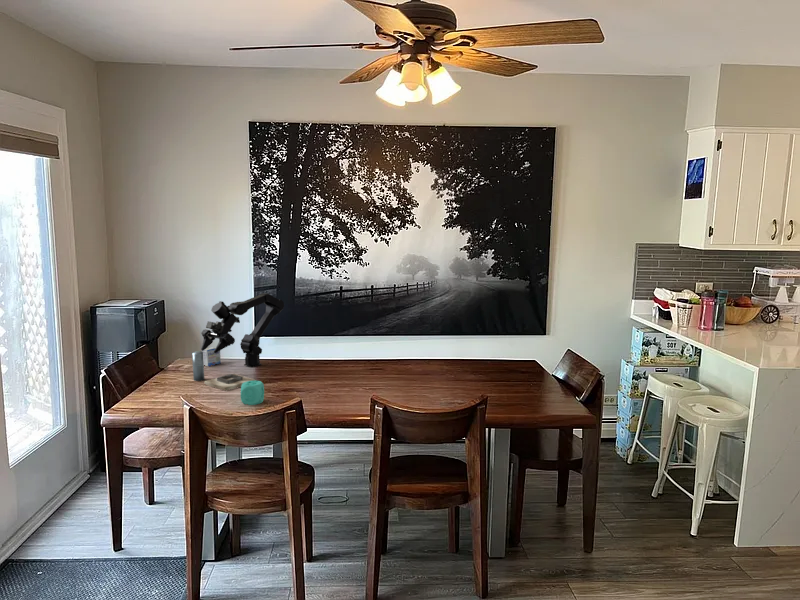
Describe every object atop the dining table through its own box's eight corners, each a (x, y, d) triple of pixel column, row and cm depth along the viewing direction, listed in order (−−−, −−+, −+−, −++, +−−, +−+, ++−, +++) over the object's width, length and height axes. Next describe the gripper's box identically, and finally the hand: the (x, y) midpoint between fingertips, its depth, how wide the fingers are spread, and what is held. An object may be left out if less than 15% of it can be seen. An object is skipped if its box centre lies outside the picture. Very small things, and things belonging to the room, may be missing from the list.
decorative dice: (264, 398, 248) (263, 380, 247) (261, 405, 240) (260, 385, 239) (245, 399, 248) (244, 380, 246) (241, 405, 240) (240, 386, 239)
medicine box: (207, 366, 300) (206, 350, 299) (202, 365, 303) (201, 348, 302) (221, 363, 307) (220, 347, 305) (215, 362, 309) (214, 346, 308)
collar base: (234, 376, 281) (234, 370, 281) (255, 382, 271) (255, 376, 271) (204, 384, 269) (204, 378, 269) (225, 390, 259) (225, 384, 259)
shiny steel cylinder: (200, 377, 280) (199, 350, 278) (206, 379, 277) (205, 352, 275) (191, 379, 277) (189, 352, 275) (197, 381, 274) (195, 354, 272)
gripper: (203, 312, 287) (184, 339, 280) (228, 316, 277) (210, 344, 269) (217, 326, 295) (199, 352, 287) (242, 330, 284) (225, 357, 277)
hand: (208, 351), depth 280 cm, fingers open, 9 cm apart
